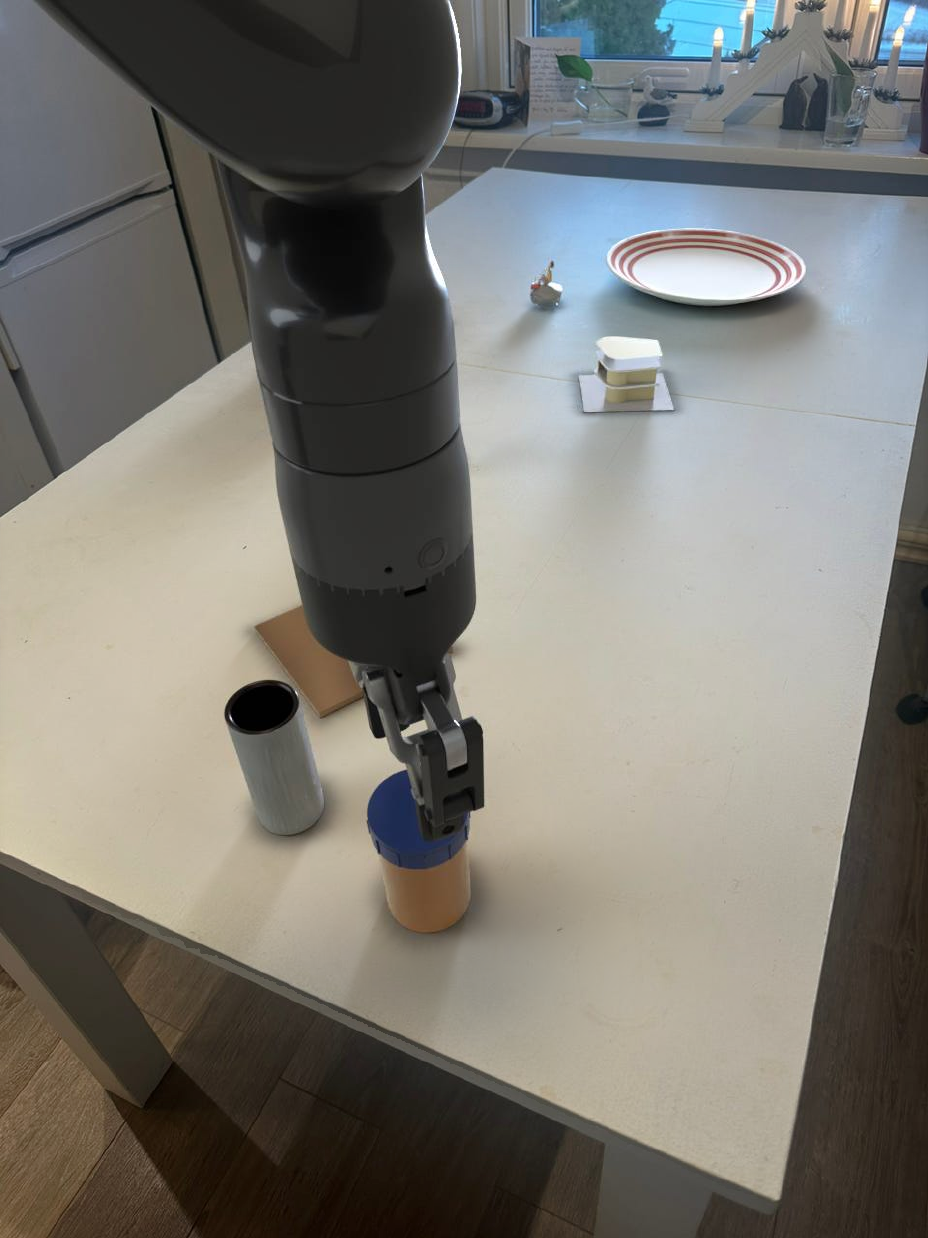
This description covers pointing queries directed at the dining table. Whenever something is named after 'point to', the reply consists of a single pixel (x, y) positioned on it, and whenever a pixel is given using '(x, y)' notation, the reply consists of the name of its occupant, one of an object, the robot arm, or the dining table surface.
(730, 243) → the dinner plate
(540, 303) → the figurine
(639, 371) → the stacked layers on plate
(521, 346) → the dining table surface
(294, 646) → the cork coaster
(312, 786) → the grey tumbler
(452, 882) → the honey jar
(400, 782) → the jar lid
